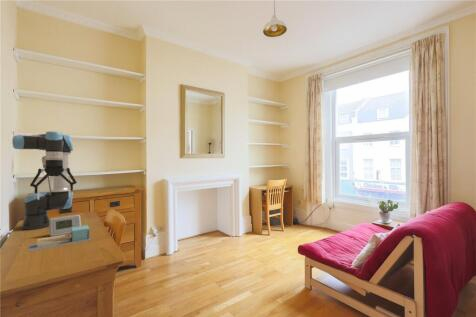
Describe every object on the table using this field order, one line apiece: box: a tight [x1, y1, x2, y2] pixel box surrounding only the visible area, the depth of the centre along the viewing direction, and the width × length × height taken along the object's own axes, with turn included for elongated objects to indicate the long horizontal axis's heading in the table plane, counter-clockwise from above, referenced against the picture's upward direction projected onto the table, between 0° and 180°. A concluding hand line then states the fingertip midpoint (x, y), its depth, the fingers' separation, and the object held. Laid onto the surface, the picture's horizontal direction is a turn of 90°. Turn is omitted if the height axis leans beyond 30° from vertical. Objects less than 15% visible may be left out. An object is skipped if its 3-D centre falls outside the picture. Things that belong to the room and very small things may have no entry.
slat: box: [36, 233, 71, 247], centre depth 129 cm, size 4×14×3 cm, turn 129°
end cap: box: [70, 224, 90, 242], centre depth 137 cm, size 9×8×6 cm
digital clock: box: [48, 214, 82, 237], centre depth 148 cm, size 16×9×11 cm, turn 123°
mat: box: [27, 236, 92, 252], centre depth 131 cm, size 12×27×1 cm, turn 129°
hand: (54, 197), depth 130 cm, fingers open, 13 cm apart
